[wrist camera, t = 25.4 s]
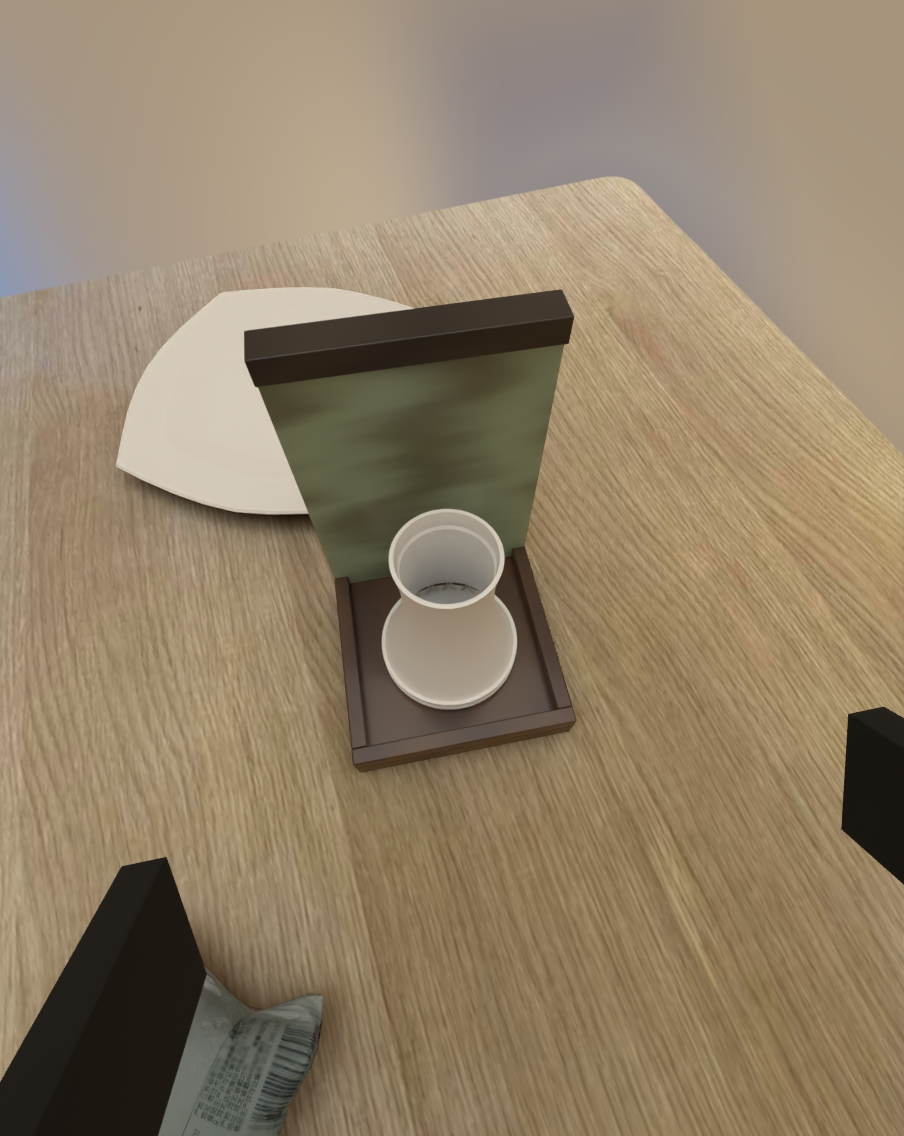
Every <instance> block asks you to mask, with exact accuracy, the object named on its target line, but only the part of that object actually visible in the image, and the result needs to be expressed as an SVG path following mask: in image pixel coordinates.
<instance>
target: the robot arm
mask: <svg viewBox="0 0 904 1136" xmlns="http://www.w3.org/2000/svg"><path fill="white" fill-rule="evenodd" d="M841 829H842V830H843V831H844V832H845V833H846V834H847V835H849V836H850V837H851V838H852V839H853V840H854V841H855V842H856V843H858V844H859V845H860V846H861V847H862V848H863V849H864V850H865V851H867V852H868V853H869V854H870V855H871V856H872V857H873V858H874V859H876V860H877V861H878V862H879V863H880V864H881V865H882V866H883V867H885V868H886V869H887V870H888V871H889V872H890V873H891V874H892V875H894V876H895V877H896V878H897V879H898V880H899V881H900V882H901V883H903V884H904V718H903V717H901V716H899V715H897V714H896V713H894V712H892V711H890V710H889V709H887V708H885V707H880V708H875V709H871V710H866V711H861V712H856V713H852V714H848V728H847V745H846V761H845V778H844V794H843V811H842V827H841ZM206 976H207V973H206V970H205V967H204V964H203V961H202V958H201V955H200V953H199V950H198V947H197V944H196V941H195V938H194V935H193V932H192V929H191V927H190V924H189V921H188V918H187V915H186V912H185V909H184V906H183V903H182V901H181V898H180V895H179V892H178V889H177V886H176V883H175V880H174V877H173V875H172V872H171V869H170V866H169V863H168V860H167V857H164V858H159V859H155V860H150V861H145V862H140V863H135V864H131V865H126V866H122V867H121V869H120V870H119V872H118V874H117V876H116V878H115V879H114V881H113V883H112V885H111V886H110V888H109V890H108V892H107V894H106V895H105V897H104V899H103V901H102V902H101V904H100V906H99V908H98V910H97V911H96V913H95V915H94V917H93V918H92V920H91V922H90V924H89V926H88V927H87V929H86V931H85V933H84V934H83V936H82V938H81V940H80V941H79V943H78V945H77V947H76V949H75V950H74V952H73V954H72V956H71V957H70V959H69V961H68V963H67V965H66V966H65V968H64V970H63V972H62V973H61V975H60V977H59V979H58V981H57V982H56V984H55V986H54V988H53V989H52V991H51V993H50V995H49V997H48V998H47V1000H46V1002H45V1004H44V1005H43V1007H42V1009H41V1011H40V1012H39V1014H38V1016H37V1018H36V1020H35V1021H34V1023H33V1025H32V1027H31V1028H30V1030H29V1032H28V1034H27V1036H26V1037H25V1039H24V1041H23V1043H22V1044H21V1046H20V1048H19V1050H18V1052H17V1053H16V1055H15V1057H14V1059H13V1060H12V1062H11V1064H10V1066H9V1068H8V1069H7V1071H6V1073H5V1075H4V1076H3V1078H2V1080H1V1082H0V1136H158V1134H159V1131H160V1128H161V1125H162V1121H163V1118H164V1115H165V1111H166V1108H167V1105H168V1101H169V1098H170V1095H171V1091H172V1088H173V1085H174V1082H175V1078H176V1075H177V1072H178V1068H179V1065H180V1062H181V1058H182V1055H183V1052H184V1048H185V1045H186V1042H187V1038H188V1035H189V1032H190V1029H191V1025H192V1022H193V1019H194V1015H195V1012H196V1009H197V1005H198V1002H199V999H200V995H201V992H202V989H203V986H204V982H205V979H206Z"/></svg>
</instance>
